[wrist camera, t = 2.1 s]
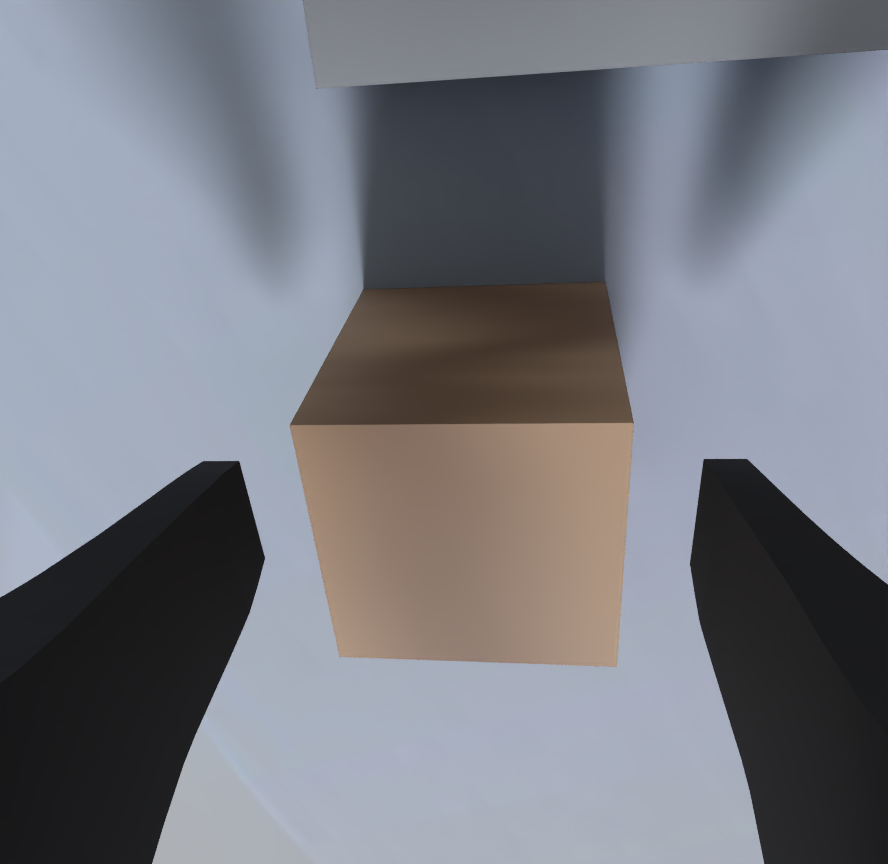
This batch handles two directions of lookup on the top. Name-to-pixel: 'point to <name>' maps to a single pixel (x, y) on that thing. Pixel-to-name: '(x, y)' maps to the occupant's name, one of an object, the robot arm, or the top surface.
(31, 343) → the top surface
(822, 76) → the top surface
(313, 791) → the top surface
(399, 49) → the slate base
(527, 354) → the walnut block
